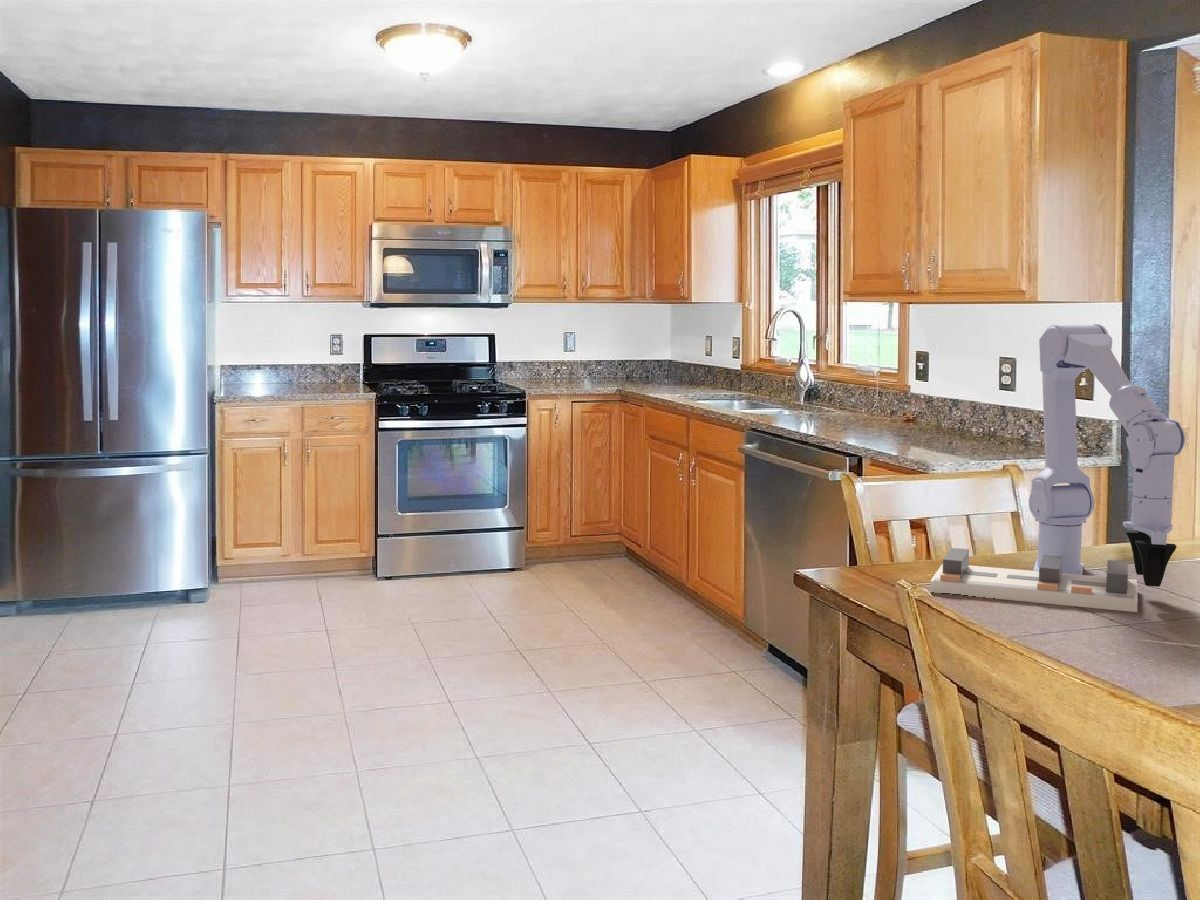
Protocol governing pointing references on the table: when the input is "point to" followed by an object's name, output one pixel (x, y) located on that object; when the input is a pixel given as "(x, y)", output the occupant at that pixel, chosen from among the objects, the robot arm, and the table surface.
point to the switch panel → (1035, 588)
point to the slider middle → (1050, 569)
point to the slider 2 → (1117, 576)
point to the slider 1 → (956, 561)
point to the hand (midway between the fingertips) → (1147, 580)
